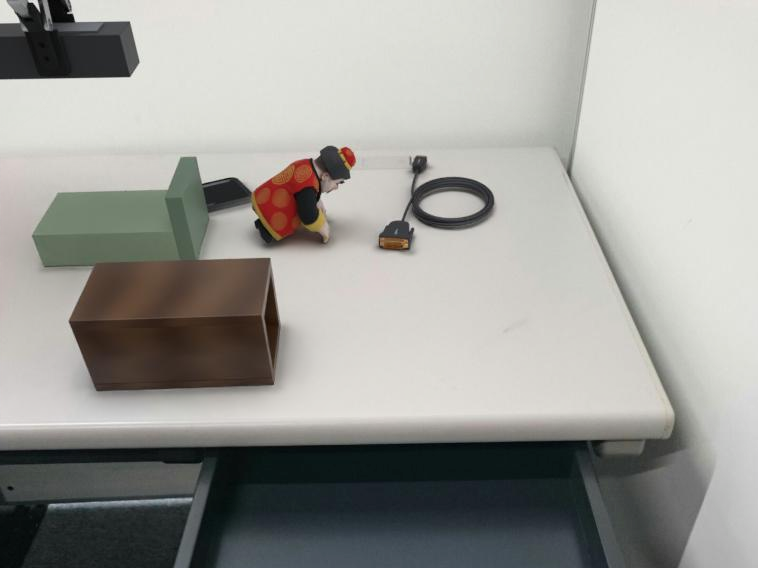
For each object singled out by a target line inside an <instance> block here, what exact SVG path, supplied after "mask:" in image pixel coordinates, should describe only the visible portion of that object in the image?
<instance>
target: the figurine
mask: <svg viewBox="0 0 758 568" xmlns="http://www.w3.org/2000/svg"><path fill="white" fill-rule="evenodd" d="M356 163H357V159H356V156H355V152H354V151H353V150H352V149H351V148H350V147H348V146H344V147H341V148H338V147H337V146H334V145H326V146H324V148H322V149H320V150H319V156H318V157H317V158H316V159H313V157H310V158H302V159H297V160H295V161H293V162H291V163H290V164H289V165H287V166H286V167H285V168H284V169H282V171H280V172H278V173H277V174H275V175H274V176H272V177H270V178H269V179H267V180H266V181H265V182H263V183H262V184H260V185H259V186H257V187H256V188H255V189H254V190H253V191H251V192H252V193H251V209H252V211H253V212H254V213H255V214H256V216H257V217H258V218H256V219H255V220H254V221H253V224H254V227H255V229H256V230H258V233H259V235H260V238H261V239H262V240H263V242H264V243H265V244H267V245H269V244H270V243H271V242H273V241H274V240H275V241H282V239H285V238H286V237H288V236H290V235H292V234H294V233H295V232H296V231H297V230H298V229H299V228H301V226H303V227H304V228H306V229H307V230H309V231H310V232H318V233H319V234H320V235H321V236H322V238H323V239H322V242H323V243H325V244H326V243H327V242H328V241H329V240H330V239H329V238H330V234H331V233H330V231H331V229H330V228H331V227H330V224H329V222H328V220H327V219H326V217H327V209H326V208H325V205H324V203H323V200H322V199H321V197H322V194H324V193H325V195H326V194H329V193H330V192H332V191H336V190H337V191H338V190H339V185H343V184H345V183H346V181H347V180H351V169H353V167H355V166H356Z"/></svg>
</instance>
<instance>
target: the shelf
mask: <svg viewBox="0 0 758 568" xmlns="http://www.w3.org/2000/svg"><path fill="white" fill-rule="evenodd" d="M272 266H273V264H272V258H271V257H244V258H241V257H240V258H212V259H211V258H209V259H208V258H207V259H197V260H174V261H140V262H106V263H96V264H95V265H93V268H92V270H91V272H90V274H89V275H88V279H87V280H86V283H85V285H84V287H83V289H82V291H81V294H80V295H79V297H78V300H77V302H76V304H75V306H74V308H73V310H72V312H71V315H70V317H69V318H68V323H69V326H70V329H71V332H72V333H73V336H74V339H75V341H76V343H77V346H78V350H79V351H80V353H81V356H82V358H83V359H82V360H83V361H84V364H85V366H86V369H87V370H88V374H89V376H90V379H91V381H92V383H93V386H94V388H95V392H96V391H98V392H99V391H100V392H101V391H127V390H153V389H154V390H155V389H156V390H157V389H182V388H183V389H186V388H210V387H212V388H213V387H215V388H216V387H242V386H243V387H244V386H272V385H274V384H275V376H276V368H277V361H278V360H277V359H278V351H279V345H280V343H279V342H280V335H281V328H282V327H281V326H282V323H281V318H280V311H279V305H278V297H277V292H276V285H275V278H274V272H273V267H272Z"/></svg>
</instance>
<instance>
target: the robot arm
mask: <svg viewBox="0 0 758 568" xmlns="http://www.w3.org/2000/svg"><path fill="white" fill-rule="evenodd" d="M5 1H6V3H7V4H8V6H9V7H10V8H11V9H12V10H13V12H14V14H15V15H16V16H17V18H18V21H19V23H20V25H21V28H22V30H23V32H24V33H25V36H26V39H27V42H28V45H29V48H30V51H31V54H32V57H33V60H34V63H35V66H36V69H37V72H38V74H39V75H40V76H42V77H60V76H69V74H70V68H69V64H68V61H67V58H66V55H65V51H64V48H63V45H62V42H61V38H60V35H59V32H58V29H53V24H52V23H54V22H76V19H75V15H74V13H72V12H73V7H72V2H71V0H36V1H37V5H38V7H37V6H36V4H35V3H34V2H33V1H31V2H30V1H29V0H5Z"/></svg>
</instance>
